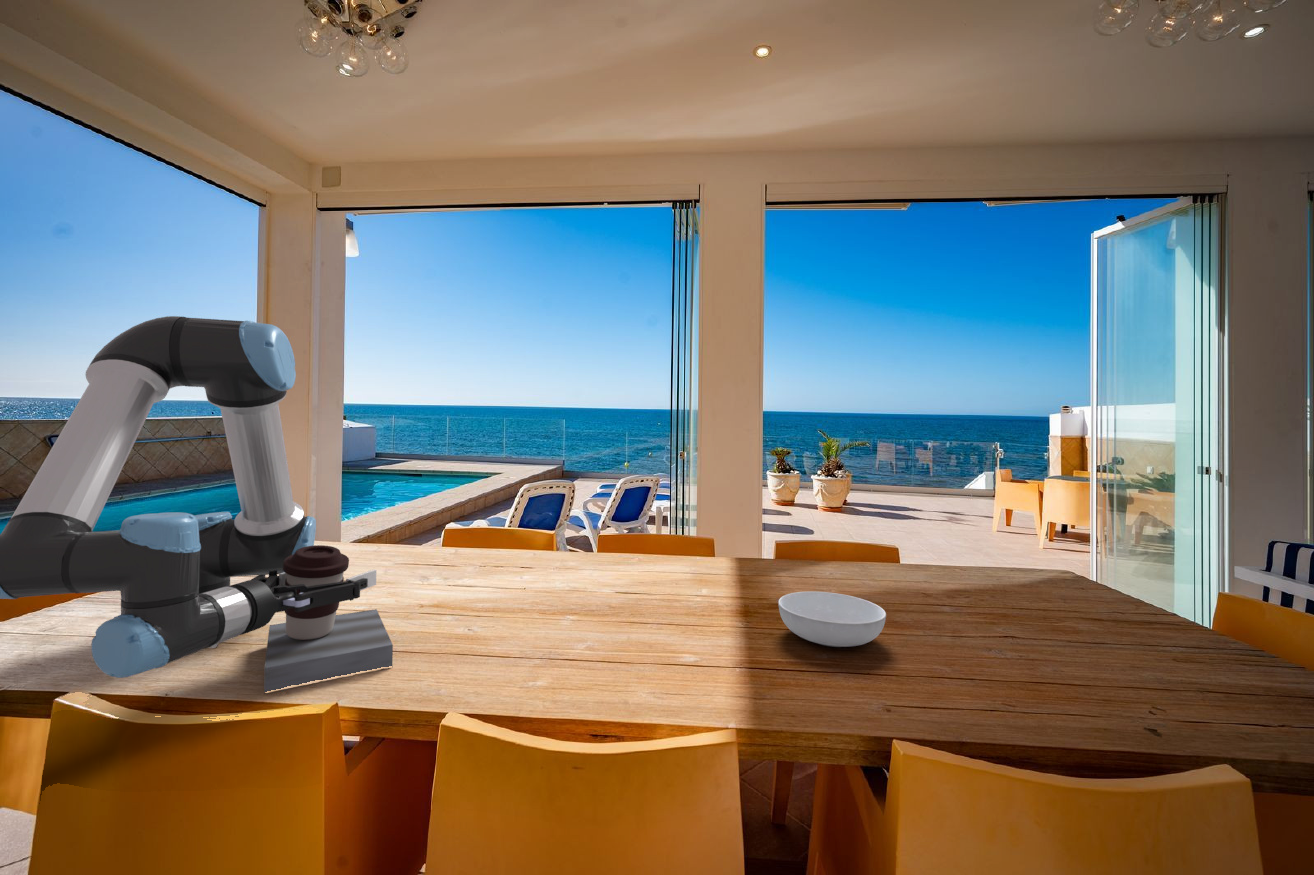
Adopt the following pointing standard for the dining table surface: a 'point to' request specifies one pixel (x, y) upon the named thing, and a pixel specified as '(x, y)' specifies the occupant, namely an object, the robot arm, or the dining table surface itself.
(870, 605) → the serving bowl
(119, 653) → the robot arm
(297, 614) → the coffee cup
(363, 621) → the stand
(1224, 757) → the dining table surface
